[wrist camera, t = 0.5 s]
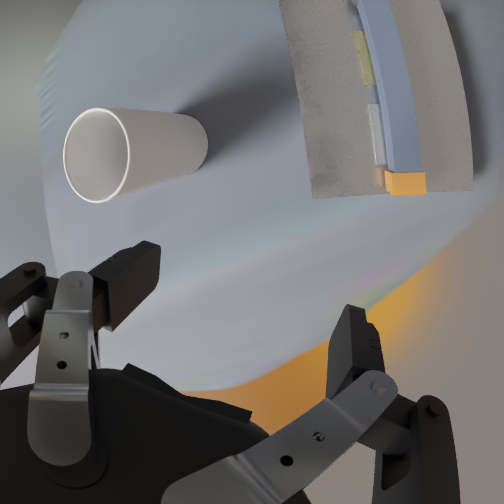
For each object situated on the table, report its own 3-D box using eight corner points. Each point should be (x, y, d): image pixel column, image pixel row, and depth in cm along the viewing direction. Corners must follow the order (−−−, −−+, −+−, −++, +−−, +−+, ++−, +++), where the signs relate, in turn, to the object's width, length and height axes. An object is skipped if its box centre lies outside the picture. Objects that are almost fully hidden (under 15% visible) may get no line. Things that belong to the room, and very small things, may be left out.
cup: (209, 113, 33) (132, 101, 19) (206, 178, 36) (131, 206, 22) (152, 115, 35) (63, 113, 20) (151, 175, 38) (65, 201, 23)
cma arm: (344, -15, 19) (345, -30, 16) (378, -15, 18) (382, -29, 15) (384, 190, 26) (390, 196, 23) (417, 188, 25) (428, 194, 22)
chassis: (284, 16, 27) (276, -3, 21) (426, 13, 22) (439, -4, 17) (314, 191, 34) (312, 199, 29) (455, 183, 29) (475, 192, 24)
